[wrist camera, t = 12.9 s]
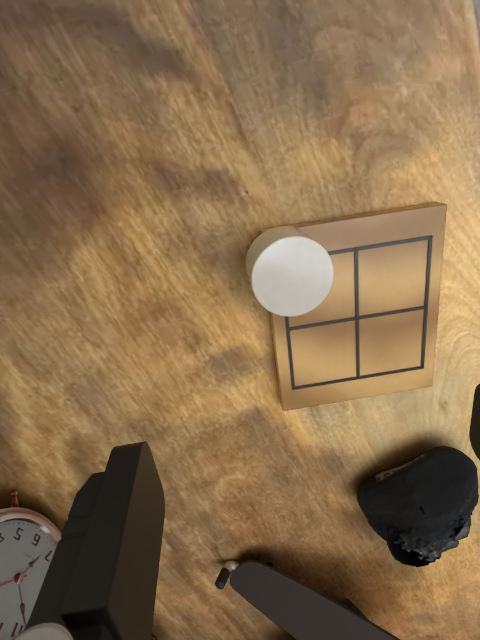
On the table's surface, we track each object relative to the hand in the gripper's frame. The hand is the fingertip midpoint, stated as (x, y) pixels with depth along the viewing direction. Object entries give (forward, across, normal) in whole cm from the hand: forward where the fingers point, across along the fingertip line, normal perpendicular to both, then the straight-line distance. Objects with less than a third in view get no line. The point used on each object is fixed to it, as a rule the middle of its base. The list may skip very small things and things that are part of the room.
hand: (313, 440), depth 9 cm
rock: (+18, -12, +24) cm, 32 cm away
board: (+18, -7, +5) cm, 20 cm away
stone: (+17, -2, 0) cm, 17 cm away
